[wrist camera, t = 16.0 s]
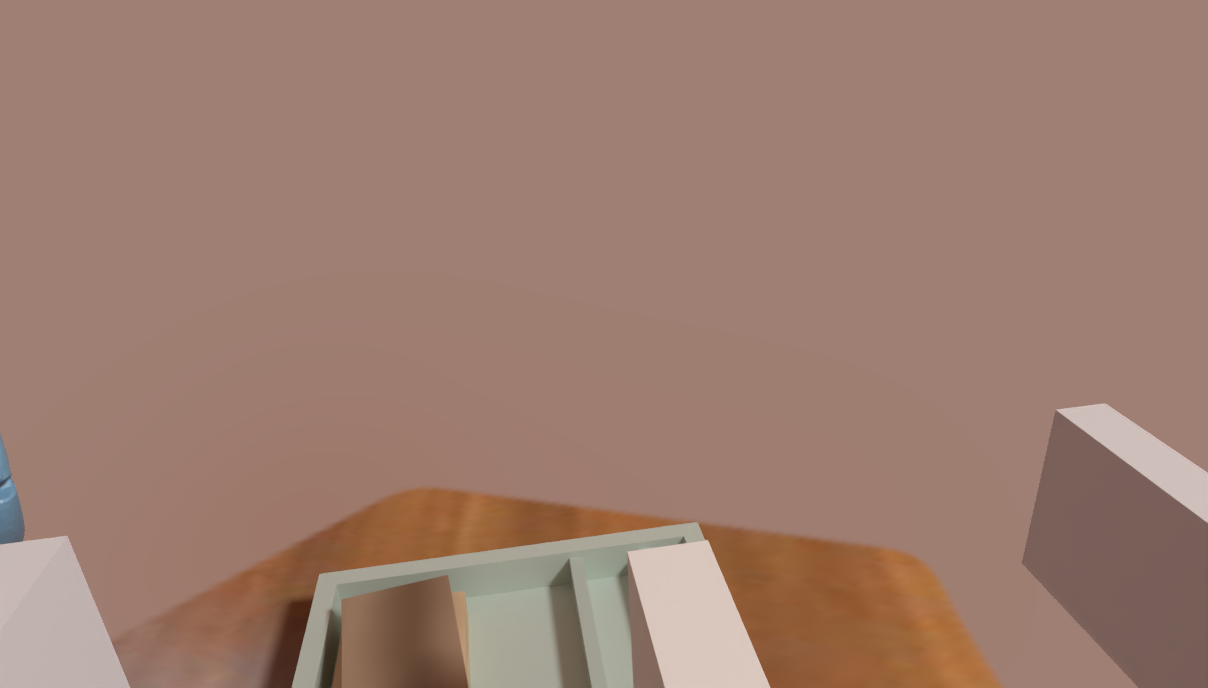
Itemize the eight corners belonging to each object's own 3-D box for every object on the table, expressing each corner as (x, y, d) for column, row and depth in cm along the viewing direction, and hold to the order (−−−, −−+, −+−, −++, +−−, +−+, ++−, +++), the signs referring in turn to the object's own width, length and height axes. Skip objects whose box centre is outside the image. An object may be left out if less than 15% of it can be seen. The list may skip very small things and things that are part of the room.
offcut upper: (349, 758, 39) (342, 728, 38) (348, 626, 46) (341, 599, 46) (474, 723, 40) (469, 694, 39) (452, 600, 48) (448, 574, 47)
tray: (279, 874, 37) (259, 818, 35) (331, 623, 51) (319, 574, 50) (779, 785, 40) (783, 728, 38) (697, 570, 54) (697, 522, 53)
